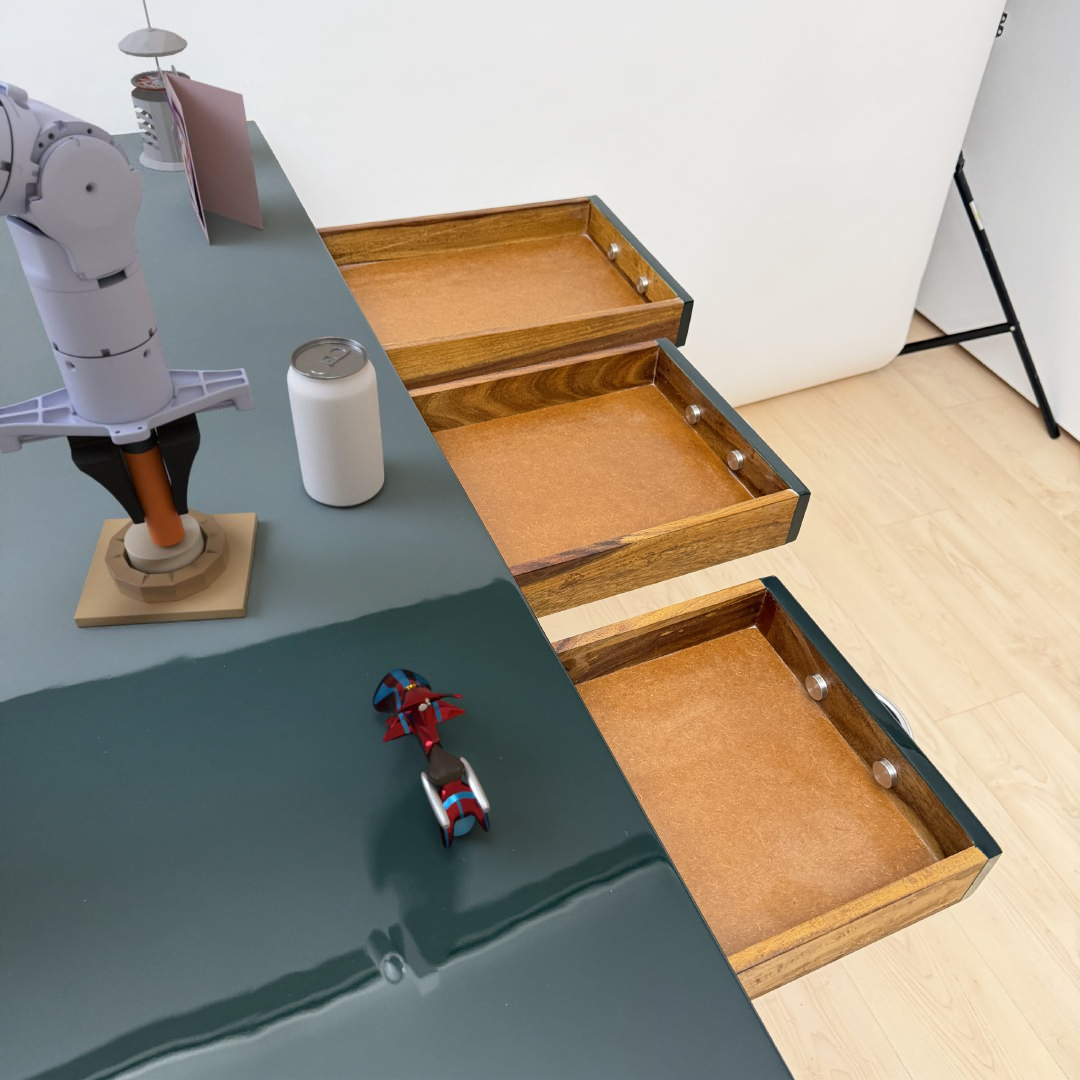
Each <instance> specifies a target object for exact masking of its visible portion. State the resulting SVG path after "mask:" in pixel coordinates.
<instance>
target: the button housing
mask: <svg viewBox="0 0 1080 1080" xmlns="http://www.w3.org/2000/svg"><path fill="white" fill-rule="evenodd" d="M188 511H189V513H188V515H190V516H192V517H193V518H194V519H195V520H196V521H197V522H198V524H199V526H200V530H201V533H202V537H203V541H204V548H203V552H202V554H201V555H200V557H199V558H198V559H197V560H196V561H195V562H194V563H193V564H192V565H189V566H187V567H184V568H182V569H180V570H177V571H175V572H172V573H165V574H147V573H144V572H141V571H139V570H138V569H136V568H135V567H134V566H133V565H132V563H131V561H130V559H129V556H128V553H127V550H126V548H125V544H124V539H125V535H126V533H127V531H128V530H129V528H130V527H131V526H132V525H133V524H134V523H133V521H132V519H131V518H130V517H128V518H127V517H124V518H106V519H105V520H104V522H103V526H102V529H101V532H100V535H99V538H98V540H97V544H96V546H95V550H94V554H93V556H92V560H91V563H90V565H89V569H88V572H87V575H86V579H85V582H84V586H83V587H82V588H83V589H82V591H81V595H80V598H79V601H78V604H77V608H76V611H75V613H74V617H73V620H74V622H75V625H76V627H78V628H84V627H103V626H119V625H133V624H135V625H136V624H150V623H151V624H152V623H165V622H167V623H169V622H180V621H198V620H214V619H215V620H216V619H231V618H233V619H234V618H243V617H246V613H247V606H248V598H249V590H250V584H251V576H252V575H251V574H252V569H253V562H254V553H255V545H256V538H257V531H258V523H259V519H258V513H257V512H253V511H252V512H236V513H234V512H233V513H213V514H207V513H204V512H200V511H197V510H196V509H192V508H188Z"/></svg>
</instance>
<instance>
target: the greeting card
mask: <svg viewBox="0 0 1080 1080" xmlns="http://www.w3.org/2000/svg"><path fill="white" fill-rule="evenodd" d="M164 73H165V78H166V82H167V87H168V92H169V97H170V101H171V104H170V102H169V101H168V99H167V98H166V96H165V95H164V93H163V92H162V93H163V95H164V96H165V98H166V100H167V102H168V104H169V106H170V108H171V111H172V113H173V117H174V120H175V125H176V130H177V134H178V139H179V144H180V149H181V153H182V158H183V163H184V167H185V171H184V172H185V176H186V182H187V186H188V192H189V194H190V199H191V205H192V207H193V210H194V212H195V214H196V218H197V219H198V221H199V224H200V226H201V228H202V231H203V233H204V236H205V238H206V240H207V243H208V245H209V246H211V243H210V239H209V233H208V229H207V224H206V223H207V222H206V219H205V213H204V210H205V211H208V212H211V213H213V214H216V215H219V216H222V217H225V218H228V219H231V220H233V221H236V222H239V223H242V224H245V225H248V226H250V227H254V228H256V229H260V230H262V231H264V229H265V227H264V222H263V216H262V209H261V203H260V198H259V191H258V184H257V178H256V171H255V164H254V159H253V152H252V147H251V141H250V135H249V128H248V121H247V116H246V109H245V104H244V103H245V101H244V97H243V94H242V93H239V92H236V91H232V90H229V89H225V88H222V87H219V86H215V85H212V84H209V83H206V82H205V83H204V82H201V81H197V80H194V79H191V78H190V79H187V78H184V77H180V76H177V75H173V74H170V73H167V72H164Z"/></svg>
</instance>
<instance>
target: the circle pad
mask: <svg viewBox="0 0 1080 1080" xmlns="http://www.w3.org/2000/svg"><path fill="white" fill-rule="evenodd" d="M180 517H181V521H182V524H183V527H184V531H185V535H184V538H183V539H182V540H181V541H180V542H178V543H177V544H175V545H172V546H166V547H163V546H158V545H156V544H154V543H153V542H152V539H151V536H150V533H149V530H148V527H147V524H146V521H145V523H141V524H136V525H135V524H133V525H132V526H131V527H130V528H129V530H128V531H127V533H126V535H125V539H124V544H125V548H126V550H127V553H128V556H129V559H130V561H131V563H132V565H133V566H134V567H135V568H136V569H138V570H139V571H141V572H144V573H147V574H165V573H172V572H175V571H177V570H180V569H182V568H184V567H187V566H189V565H192V564H193V563H194V562H195V561H196V560H197V559H198V558H199V557H200V555H201V554H202V552H203V548H204V541H203V537H202V533H201V530H200V526H199V524H198V522H197V521H196V520H195V519H194V518H193V517H192V516H190V515H188V514H184V515H180Z"/></svg>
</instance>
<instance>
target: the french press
mask: <svg viewBox="0 0 1080 1080" xmlns="http://www.w3.org/2000/svg"><path fill="white" fill-rule="evenodd" d="M142 4H143V8H144V13H145V18H146V22H147V27H146V28H140V29H137V30H135V31H132V32H130V33H128V34H127V35H126V36H125V37H123V38H122V39H121V40H120V41H119V42H118V43H117V48H118V49H119V51H120V52H122V53H123V54H125V55H128V56H132V57H136V58H137V57H138V58H139V57H140V58H154V59H155V63H156V68H157V69H155V70H148V71H147V70H146V71H142V72H140V73H137V74H135V75H134V76H132V77H131V79H130V83H131V85H132V86H133V87H135V88H133V89H132V90H131V91H130V92H131V93H130V95H131V100H132V104H133V107H134V109H136V108H138V109H141V110H142V111H136V110H135V111H134V113H135V116H136V119H138V120H140V119H141V120H142V121H143V122H140V121H137V124H138V128H139V129H141V130H142V129H143V130H145V132H142V131H140V132H139V134H140V137H141V139H142V140H147V141H148V142H142V146H143V150H142V152H141V154H140V155H139V157H138V161H139V164H140V165H142V166H144V167H145V168H146V169H151V170H155V171H158V172H160V171H161V172H172V173H173V172H185V167H184V163H183V158H182V153H181V149H180V144H179V139H178V134H177V130H176V125H175V120H174V117H173V113H172V111H171V108H170V106H169V104H168V102H167V100H166V98H167V99H168V101H169V102H170V104H171V101H170V97H169V92H168V87H167V82H166V78H165V73H164V72H167V73H170V74H173V75H177V76H180V77H184V78H187V79H191V77H190V75H188V74H187V73H185V72H183V71H180V70H179V71H178V70H177V69H176V67H175V65H174V64H171V65H170V67H171V70H168V69H162V68H161V67H160V65H159V60H158V58H163V57H169V56H174V55H176V54H179V53H181V52H183V51H184V50H185V49H186V48H187V46H188V41H187V40H186V39H185V38H183V37H182V36H180V35H178V34H177V33H176V32H172V31H170V30H167V29H161V28H157V27H151V23H150V17H149V14H148V9H147V5H146V1H145V0H142ZM162 92H163V93H164V95H165V96H166V98H165V96H164V95H163V93H162ZM146 115H147V116H146Z"/></svg>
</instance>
